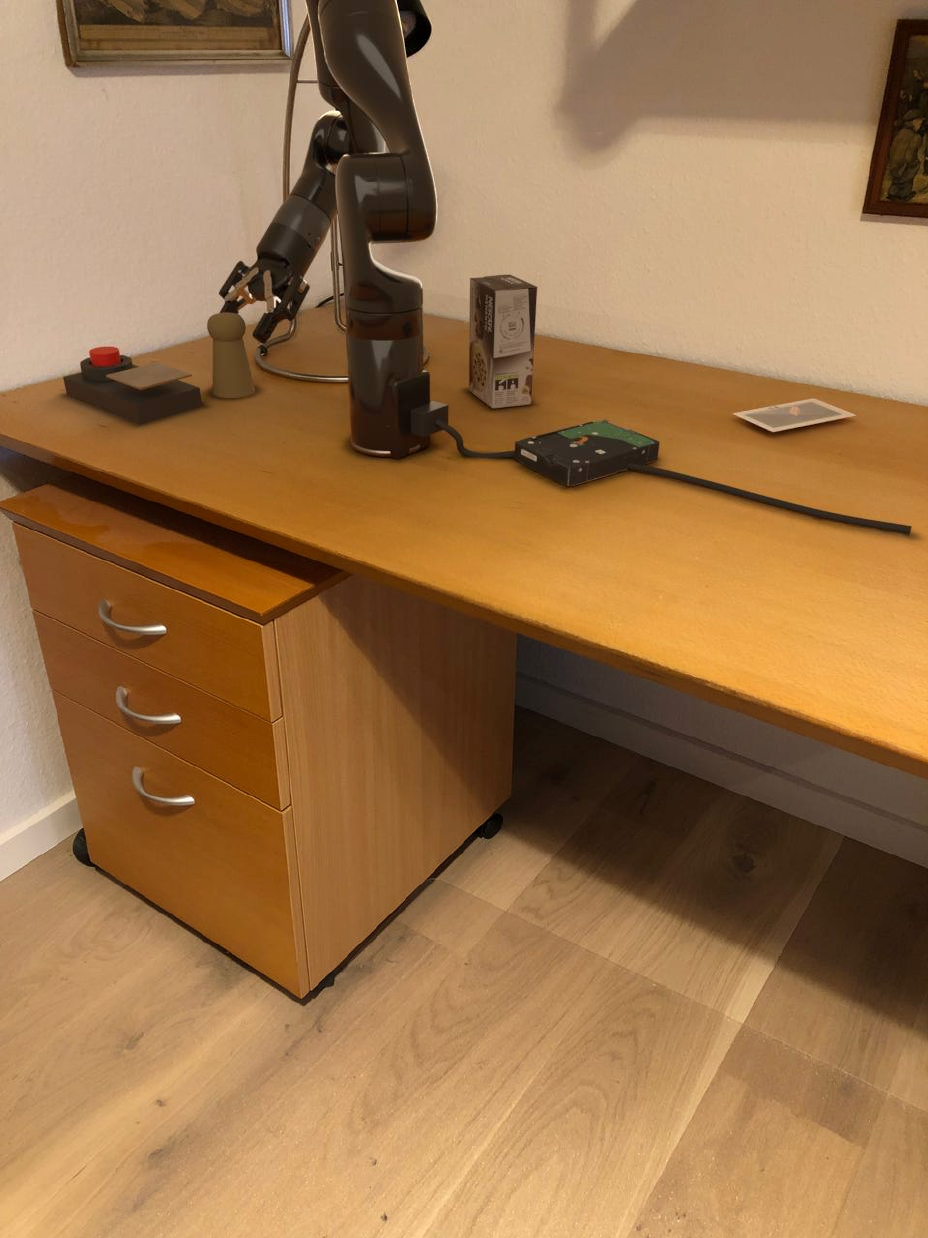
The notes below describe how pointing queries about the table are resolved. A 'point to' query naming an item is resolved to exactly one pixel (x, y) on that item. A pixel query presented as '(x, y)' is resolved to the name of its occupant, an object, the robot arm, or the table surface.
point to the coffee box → (501, 340)
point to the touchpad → (793, 414)
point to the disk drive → (585, 452)
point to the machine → (130, 393)
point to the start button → (104, 356)
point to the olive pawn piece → (229, 356)
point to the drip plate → (148, 376)
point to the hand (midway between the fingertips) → (238, 334)
